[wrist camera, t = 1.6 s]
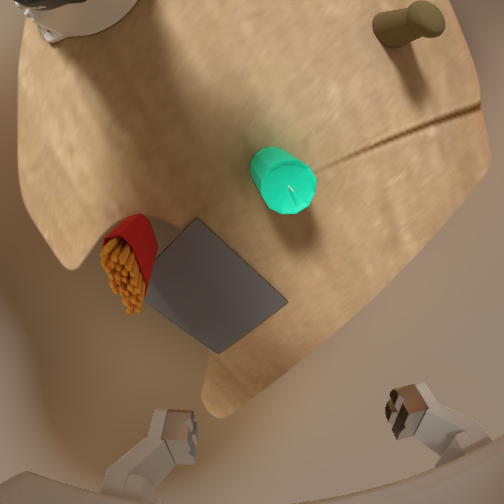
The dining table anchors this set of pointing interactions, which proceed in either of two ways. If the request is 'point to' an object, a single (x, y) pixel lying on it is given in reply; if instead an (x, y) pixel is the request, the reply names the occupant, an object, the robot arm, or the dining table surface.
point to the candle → (283, 180)
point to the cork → (408, 24)
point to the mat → (209, 289)
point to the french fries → (130, 260)
